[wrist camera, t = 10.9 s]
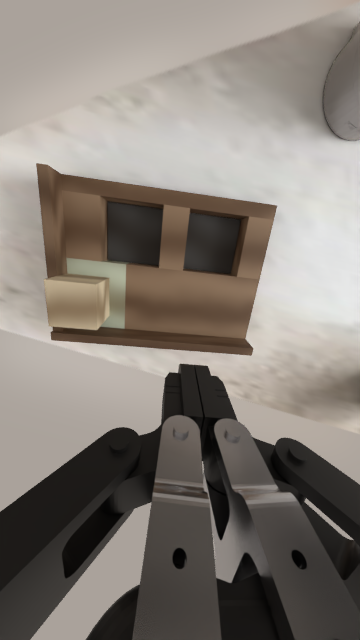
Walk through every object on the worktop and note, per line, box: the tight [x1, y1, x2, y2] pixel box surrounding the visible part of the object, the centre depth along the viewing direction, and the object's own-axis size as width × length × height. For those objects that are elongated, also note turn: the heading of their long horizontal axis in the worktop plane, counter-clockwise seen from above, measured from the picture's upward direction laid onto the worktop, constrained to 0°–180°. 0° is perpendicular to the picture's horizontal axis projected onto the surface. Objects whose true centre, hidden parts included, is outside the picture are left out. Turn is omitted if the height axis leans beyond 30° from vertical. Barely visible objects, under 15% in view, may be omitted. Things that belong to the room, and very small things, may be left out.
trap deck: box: [36, 163, 277, 355], centre depth 25 cm, size 18×25×6 cm
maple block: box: [44, 273, 109, 330], centre depth 23 cm, size 5×5×5 cm
